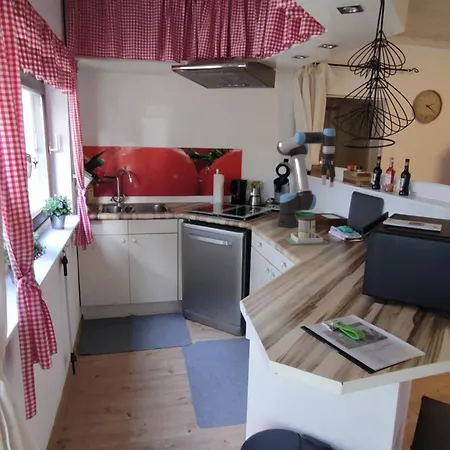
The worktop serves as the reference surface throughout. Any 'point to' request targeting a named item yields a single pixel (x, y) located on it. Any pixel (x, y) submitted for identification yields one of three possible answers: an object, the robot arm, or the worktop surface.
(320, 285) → the worktop surface
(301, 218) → the coffee can
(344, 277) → the worktop surface
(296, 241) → the mount plate
